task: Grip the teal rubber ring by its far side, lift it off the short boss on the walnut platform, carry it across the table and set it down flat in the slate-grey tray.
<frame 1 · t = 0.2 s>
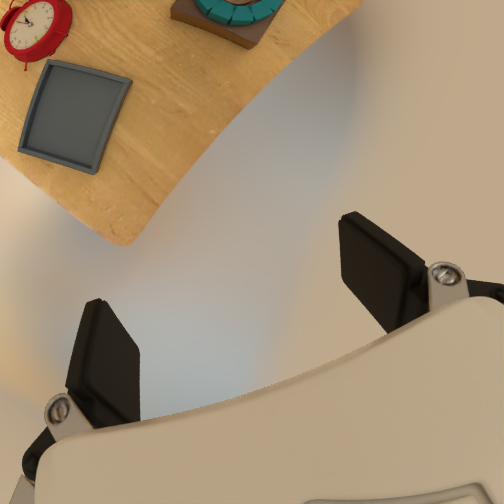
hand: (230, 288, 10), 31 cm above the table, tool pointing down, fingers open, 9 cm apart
platform: (230, 1, 26), on the table
tray: (72, 114, 29), on the table
alarm clock: (38, 23, 19), on the table
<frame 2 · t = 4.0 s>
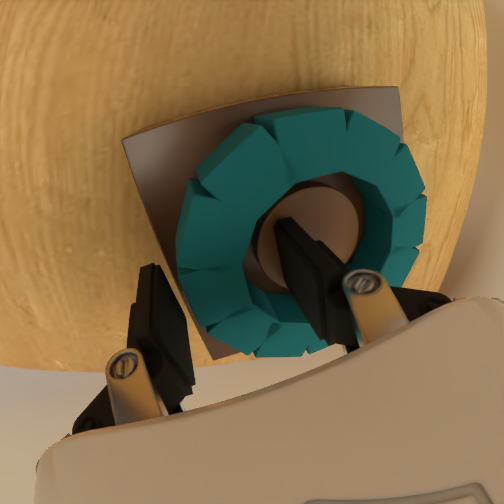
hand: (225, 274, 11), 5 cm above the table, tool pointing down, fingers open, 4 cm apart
platform: (274, 204, 16), on the table
ring: (304, 233, 12), point 4 cm above the table, touching platform
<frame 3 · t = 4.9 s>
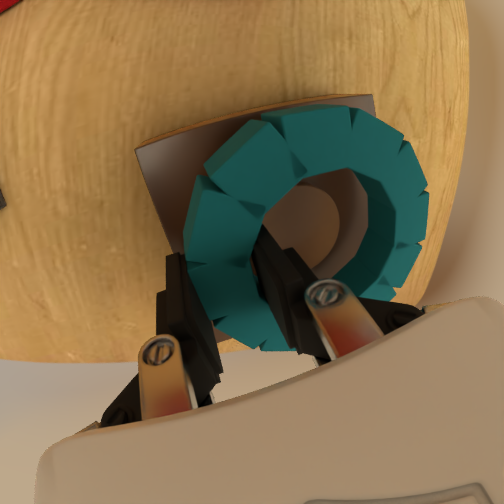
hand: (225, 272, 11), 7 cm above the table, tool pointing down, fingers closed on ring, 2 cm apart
platform: (267, 202, 18), on the table
ring: (309, 229, 13), point 6 cm above the table, touching gripper
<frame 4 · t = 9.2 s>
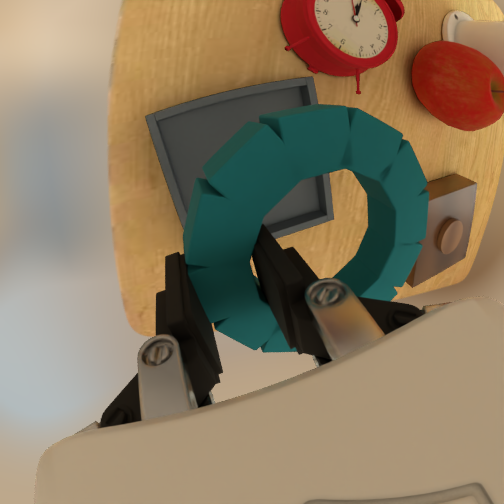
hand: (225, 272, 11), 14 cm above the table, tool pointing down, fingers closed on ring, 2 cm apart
platform: (428, 222, 33), on the table
ring: (309, 230, 13), point 13 cm above the table, touching gripper
apple: (430, 80, 23), on the table, touching arm
tray: (246, 165, 24), on the table
alarm clock: (337, 15, 18), on the table
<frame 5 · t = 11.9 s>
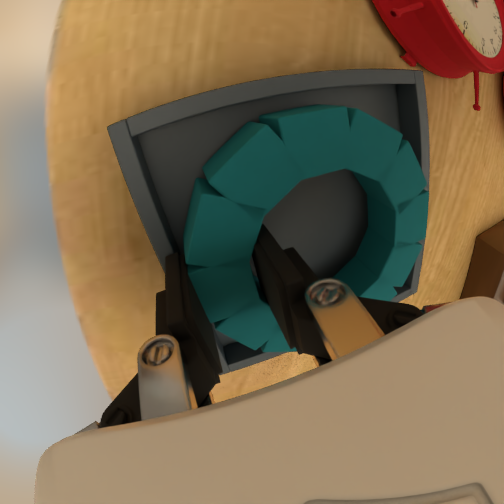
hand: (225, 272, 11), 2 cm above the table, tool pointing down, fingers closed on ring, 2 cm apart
platform: (491, 266, 23), on the table
ring: (309, 230, 13), point 1 cm above the table, touching gripper
tray: (303, 216, 14), on the table
when the fingers open (3 cm above the table, at t = 13.8 s): ring drops 1 cm, resting on tray.
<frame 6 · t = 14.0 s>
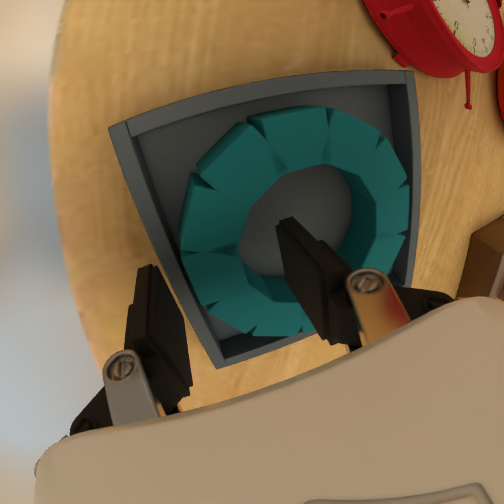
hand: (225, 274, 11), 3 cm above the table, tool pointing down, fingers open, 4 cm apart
platform: (487, 264, 23), on the table
ring: (295, 221, 14), point 1 cm above the table, touching tray
tray: (297, 214, 14), on the table
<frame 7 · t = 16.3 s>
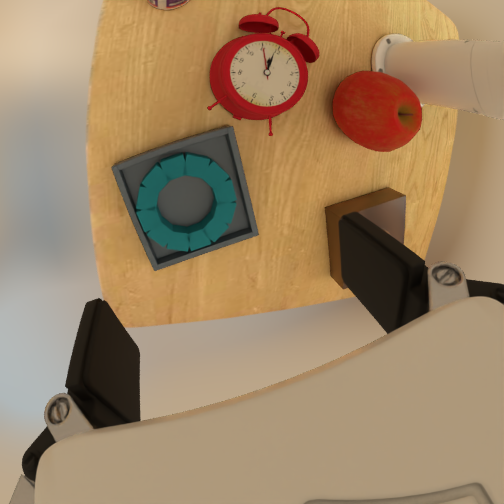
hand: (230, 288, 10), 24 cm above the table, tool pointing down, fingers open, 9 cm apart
platform: (360, 231, 42), on the table
ring: (185, 199, 31), point 1 cm above the table, touching tray
apple: (355, 107, 32), on the table, touching arm
tray: (187, 196, 32), on the table
alarm clock: (260, 65, 27), on the table
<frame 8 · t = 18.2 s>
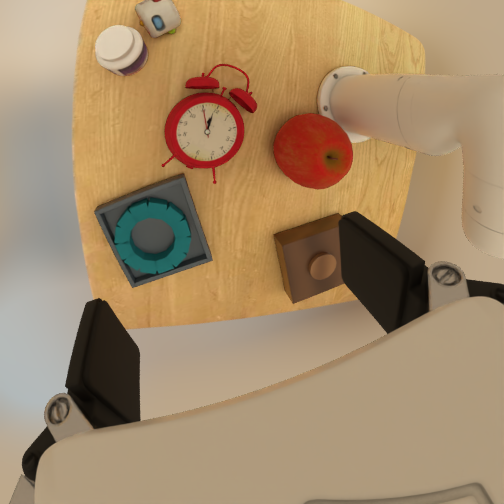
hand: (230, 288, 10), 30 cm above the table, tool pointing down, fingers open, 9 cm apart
platform: (311, 253, 49), on the table
ring: (152, 233, 39), point 1 cm above the table, touching tray
apple: (299, 145, 39), on the table, touching arm
pill bottle: (128, 58, 27), on the table
tray: (155, 230, 40), on the table
roller toy: (158, 21, 26), on the table
alarm clock: (208, 118, 34), on the table
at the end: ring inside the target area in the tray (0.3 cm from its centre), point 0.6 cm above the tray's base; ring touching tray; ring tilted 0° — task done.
